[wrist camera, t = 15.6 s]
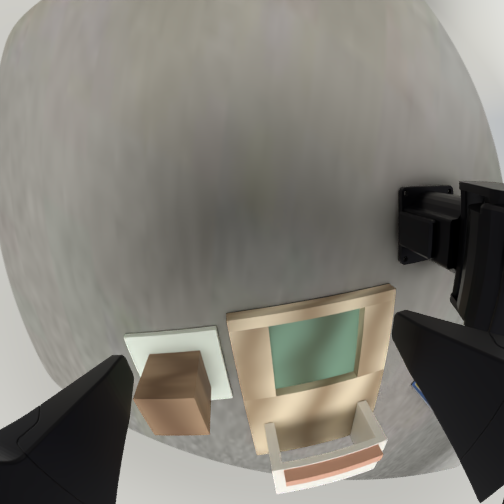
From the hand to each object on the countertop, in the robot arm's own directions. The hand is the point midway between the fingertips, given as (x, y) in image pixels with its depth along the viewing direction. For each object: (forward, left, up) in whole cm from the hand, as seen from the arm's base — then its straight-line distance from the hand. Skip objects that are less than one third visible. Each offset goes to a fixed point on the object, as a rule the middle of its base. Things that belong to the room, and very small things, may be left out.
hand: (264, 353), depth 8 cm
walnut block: (+7, +10, -11) cm, 17 cm away
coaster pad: (+7, +10, -12) cm, 17 cm away
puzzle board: (-5, +15, -12) cm, 20 cm away
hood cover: (-5, +22, -11) cm, 25 cm away
